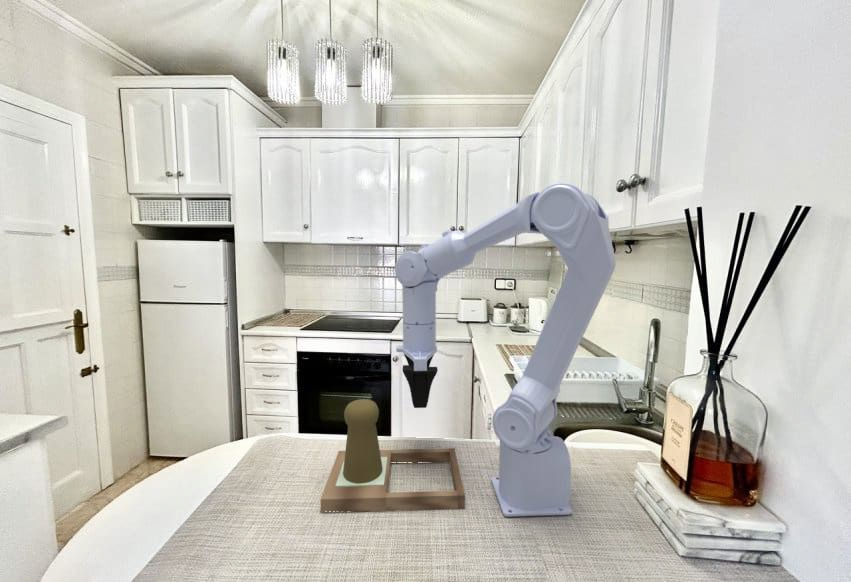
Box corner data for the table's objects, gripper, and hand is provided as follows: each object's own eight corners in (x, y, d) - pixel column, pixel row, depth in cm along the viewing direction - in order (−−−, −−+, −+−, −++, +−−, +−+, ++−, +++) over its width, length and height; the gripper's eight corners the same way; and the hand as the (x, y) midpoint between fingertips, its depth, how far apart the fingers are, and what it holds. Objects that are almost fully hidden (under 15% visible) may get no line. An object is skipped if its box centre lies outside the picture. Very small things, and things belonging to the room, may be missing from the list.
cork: (376, 485, 50) (375, 412, 49) (336, 482, 51) (334, 410, 50) (386, 461, 56) (385, 395, 55) (350, 458, 57) (349, 393, 56)
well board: (454, 459, 61) (454, 447, 60) (464, 508, 49) (464, 493, 49) (339, 462, 60) (338, 449, 60) (320, 512, 48) (320, 498, 48)
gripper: (397, 315, 67) (398, 383, 68) (393, 331, 53) (394, 416, 54) (434, 314, 67) (434, 382, 69) (440, 330, 53) (440, 415, 54)
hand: (419, 397), depth 61 cm, fingers open, 7 cm apart
